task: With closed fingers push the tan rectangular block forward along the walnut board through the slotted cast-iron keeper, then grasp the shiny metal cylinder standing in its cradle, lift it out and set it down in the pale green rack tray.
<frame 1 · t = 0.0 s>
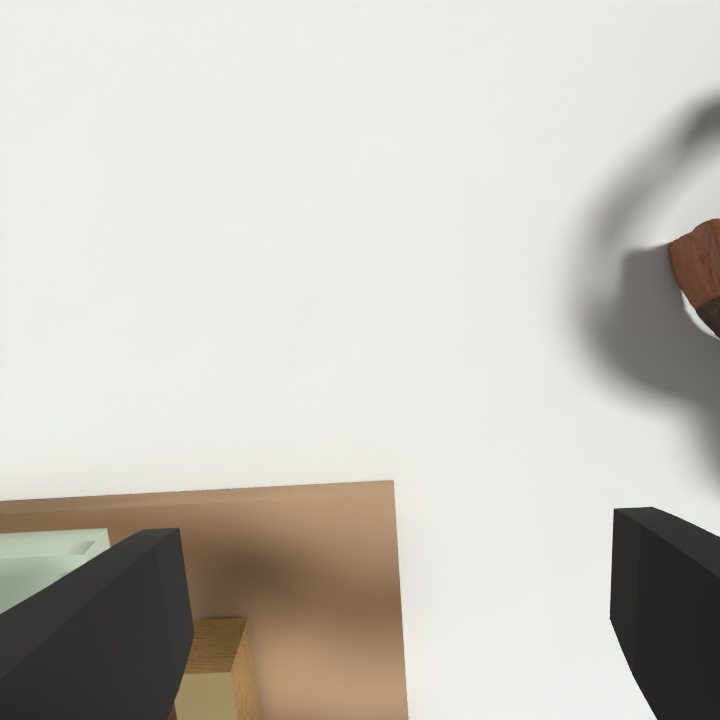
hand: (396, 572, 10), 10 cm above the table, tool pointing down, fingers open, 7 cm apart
rack tray: (25, 632, 21), resting on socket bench
tan rectangular block: (220, 704, 20), point 3 cm above the table, slide at 0.0 cm
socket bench: (180, 714, 23), on the table
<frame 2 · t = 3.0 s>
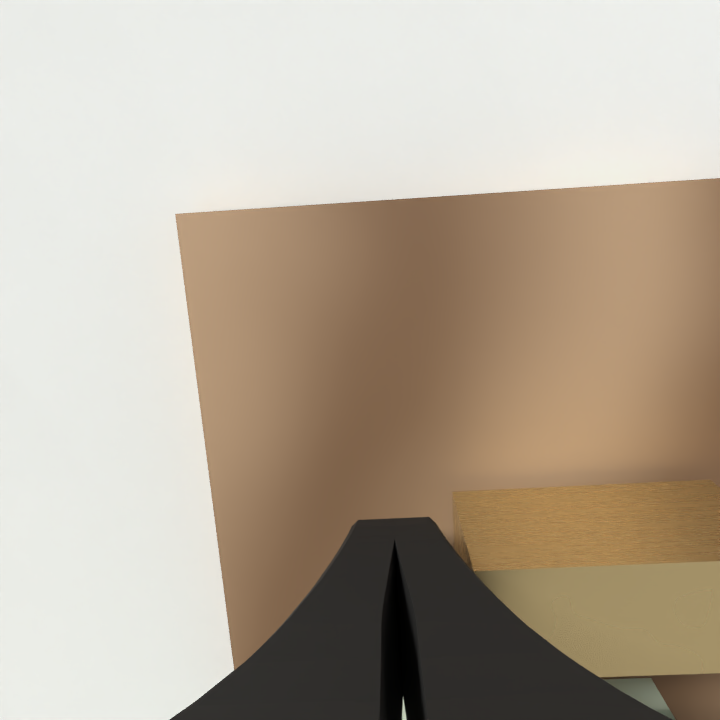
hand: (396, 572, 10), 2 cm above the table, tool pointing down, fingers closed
tan rectangular block: (603, 571, 10), point 3 cm above the table, slide at 0.5 cm, touching gripper
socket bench: (666, 601, 13), on the table
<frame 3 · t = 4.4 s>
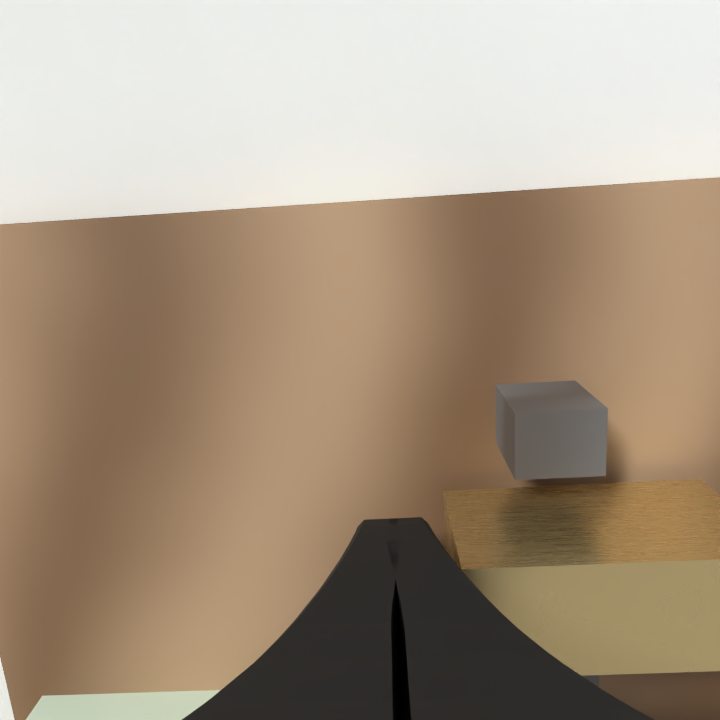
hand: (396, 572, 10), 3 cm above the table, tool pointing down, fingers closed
tan rectangular block: (593, 569, 10), point 3 cm above the table, slide at 5.1 cm, touching gripper
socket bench: (437, 608, 13), on the table
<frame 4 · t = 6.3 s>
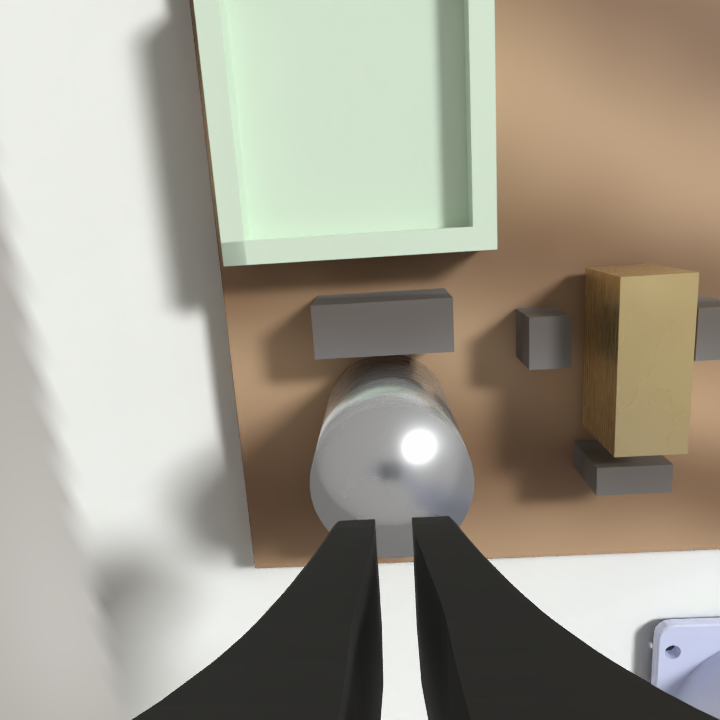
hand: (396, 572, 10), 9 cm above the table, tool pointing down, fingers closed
rack tray: (351, 109, 16), resting on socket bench
tan rectangular block: (634, 356, 16), point 3 cm above the table, slide at 5.0 cm
shiny metal cylinder: (387, 412, 18), point 1 cm above the table, touching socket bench
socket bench: (515, 265, 18), on the table
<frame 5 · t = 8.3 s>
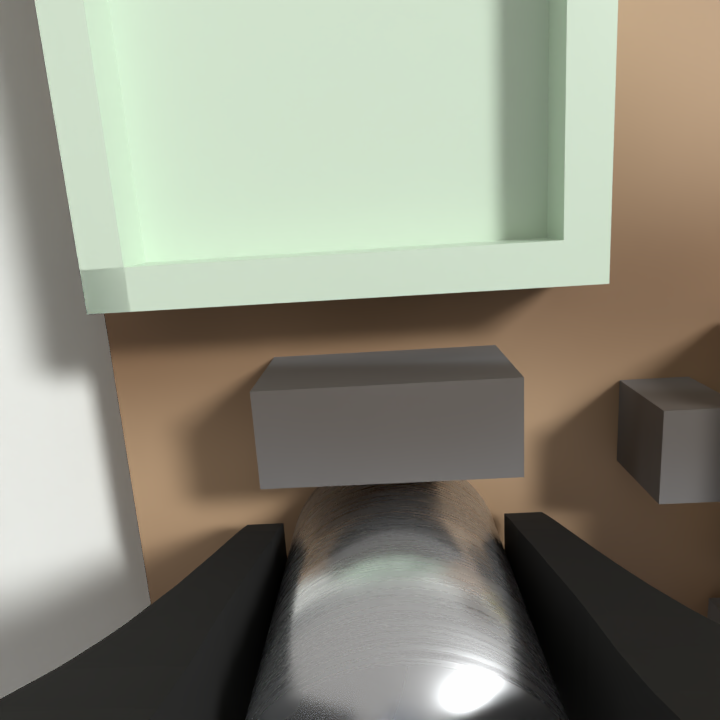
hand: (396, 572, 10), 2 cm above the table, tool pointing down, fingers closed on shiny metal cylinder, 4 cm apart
rack tray: (331, 22, 9), resting on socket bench
shiny metal cylinder: (394, 550, 11), point 1 cm above the table, touching gripper, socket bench
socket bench: (611, 303, 11), on the table
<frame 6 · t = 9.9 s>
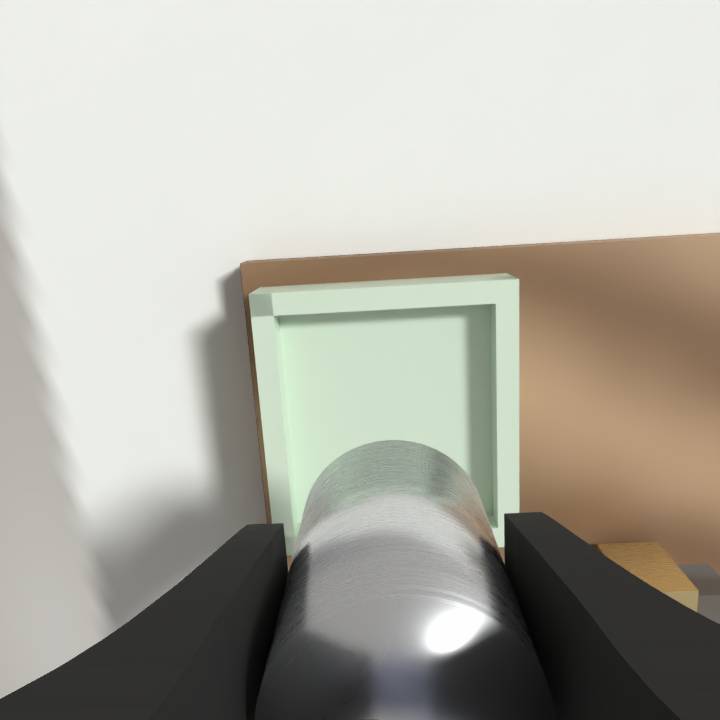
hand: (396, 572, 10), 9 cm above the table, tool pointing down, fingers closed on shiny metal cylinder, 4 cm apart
rack tray: (388, 407, 18), resting on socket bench
tan rectangular block: (640, 634, 18), point 3 cm above the table, slide at 5.0 cm
shiny metal cylinder: (393, 525, 12), point 7 cm above the table, touching gripper
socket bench: (532, 522, 20), on the table
when the fingers open (4 cm above the table, at t = 11.4 s): shiny metal cylinder stays where it is, resting on rack tray.
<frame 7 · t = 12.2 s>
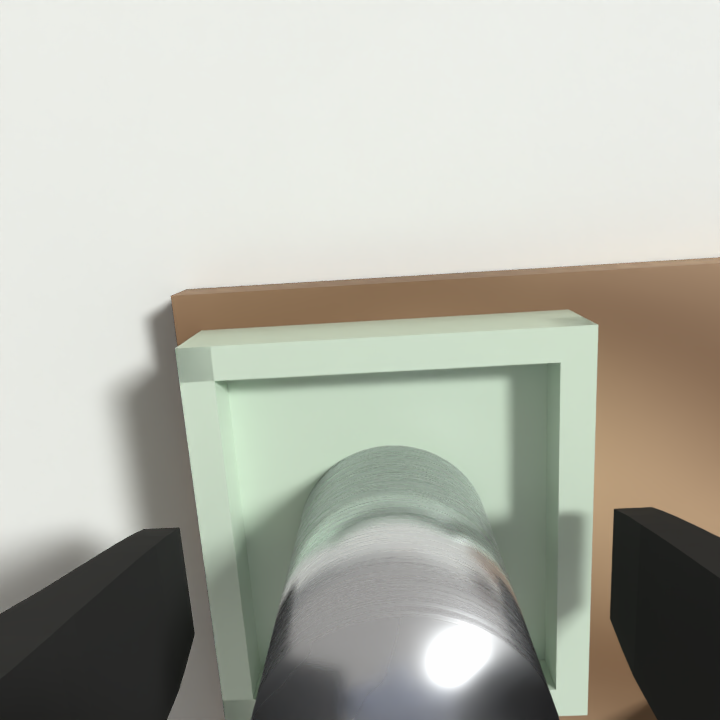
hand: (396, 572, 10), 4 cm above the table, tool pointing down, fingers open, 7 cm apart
rack tray: (392, 503, 13), resting on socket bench
shiny metal cylinder: (393, 532, 12), point 2 cm above the table, touching rack tray
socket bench: (593, 650, 14), on the table
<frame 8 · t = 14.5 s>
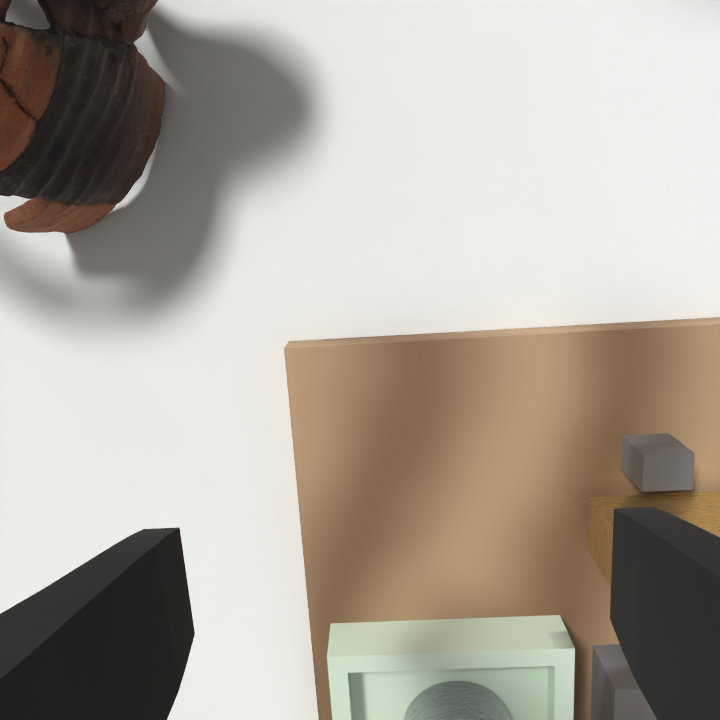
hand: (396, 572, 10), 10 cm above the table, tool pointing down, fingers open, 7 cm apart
rack tray: (447, 707, 21), resting on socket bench
tan rectangular block: (681, 541, 18), point 3 cm above the table, slide at 5.0 cm
brown piece: (38, 52, 18), on the table
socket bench: (572, 570, 21), on the table
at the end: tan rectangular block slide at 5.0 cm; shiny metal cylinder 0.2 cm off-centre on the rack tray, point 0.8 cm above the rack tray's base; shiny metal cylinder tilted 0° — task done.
